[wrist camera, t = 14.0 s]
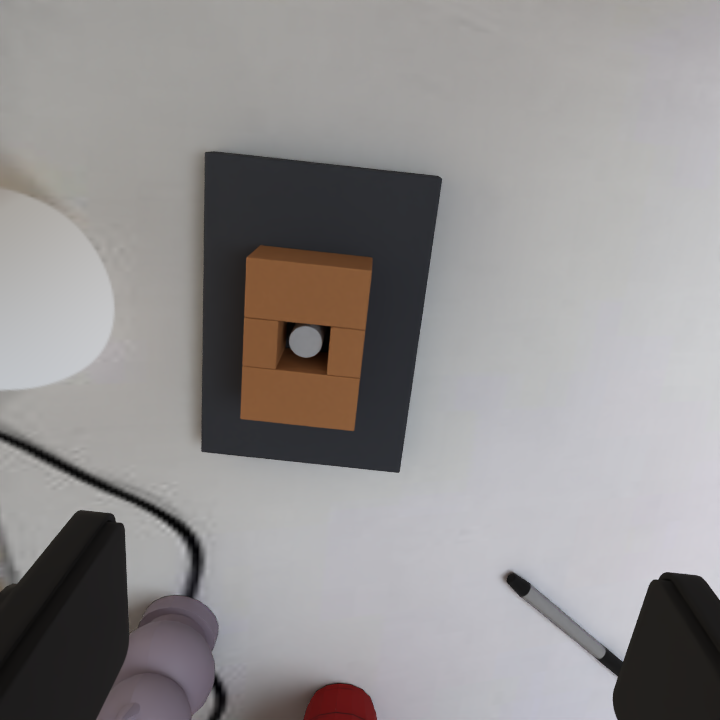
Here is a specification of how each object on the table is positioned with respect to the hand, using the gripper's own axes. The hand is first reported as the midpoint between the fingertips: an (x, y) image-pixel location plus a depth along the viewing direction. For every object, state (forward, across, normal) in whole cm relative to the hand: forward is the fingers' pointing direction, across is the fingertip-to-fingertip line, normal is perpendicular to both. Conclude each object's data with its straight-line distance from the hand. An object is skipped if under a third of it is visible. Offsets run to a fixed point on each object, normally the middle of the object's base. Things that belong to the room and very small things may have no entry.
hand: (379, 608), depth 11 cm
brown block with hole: (+28, +4, +4) cm, 29 cm away
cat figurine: (+31, +13, +32) cm, 46 cm away
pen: (+31, -19, +28) cm, 46 cm away
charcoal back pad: (+30, +4, +4) cm, 31 cm away
